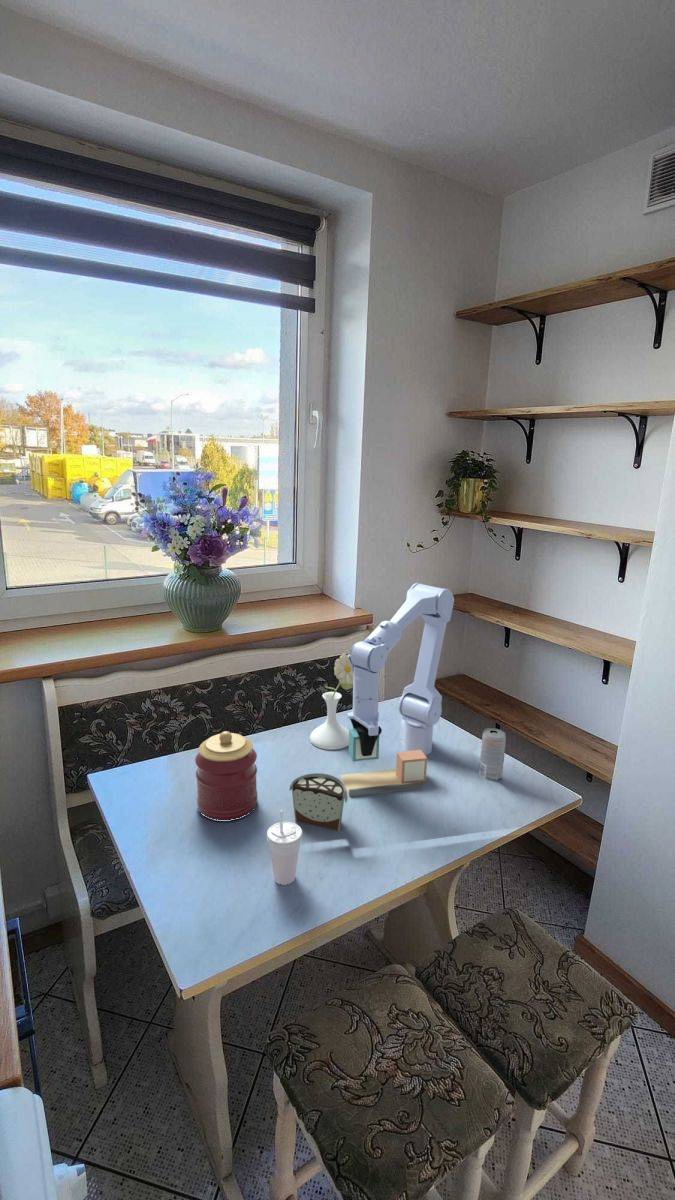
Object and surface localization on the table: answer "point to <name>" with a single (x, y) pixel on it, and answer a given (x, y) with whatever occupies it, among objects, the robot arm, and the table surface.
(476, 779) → the table surface
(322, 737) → the flower in vase
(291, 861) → the smoothie
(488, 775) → the energy drink
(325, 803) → the food container
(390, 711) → the table surface
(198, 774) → the canister
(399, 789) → the board
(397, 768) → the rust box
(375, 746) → the teal box
